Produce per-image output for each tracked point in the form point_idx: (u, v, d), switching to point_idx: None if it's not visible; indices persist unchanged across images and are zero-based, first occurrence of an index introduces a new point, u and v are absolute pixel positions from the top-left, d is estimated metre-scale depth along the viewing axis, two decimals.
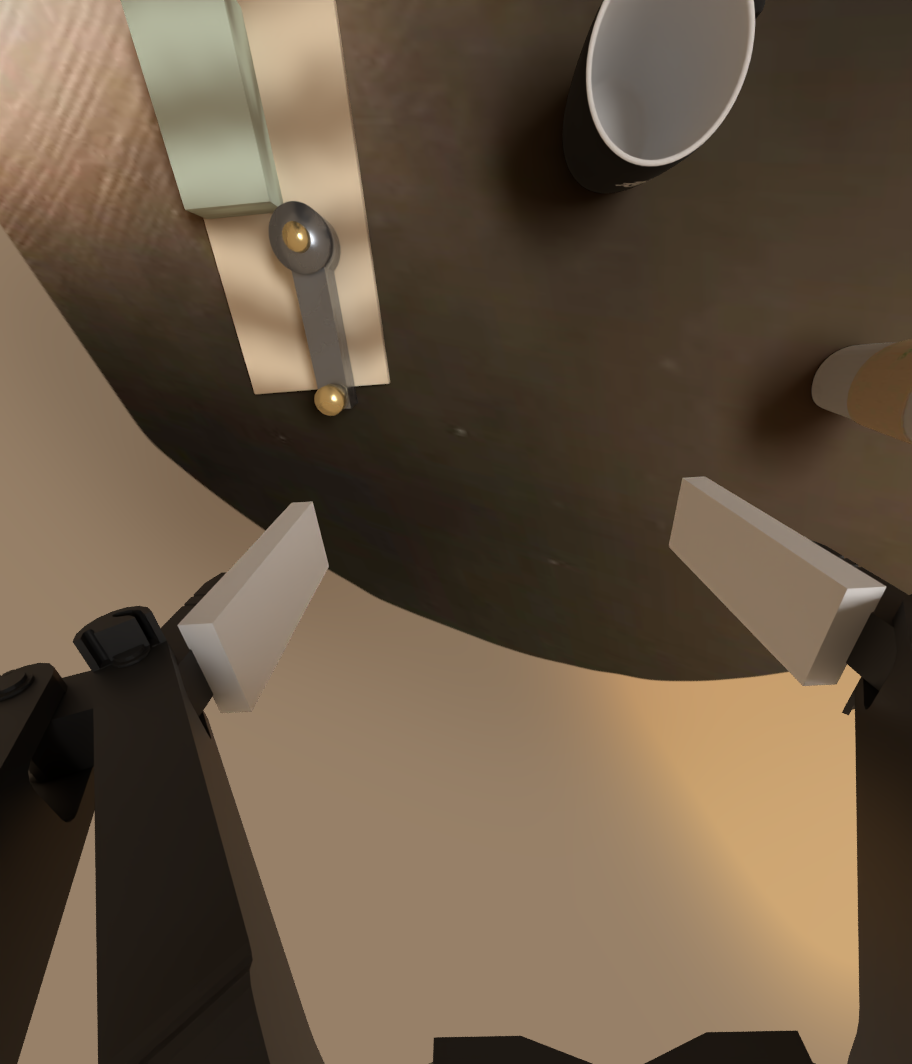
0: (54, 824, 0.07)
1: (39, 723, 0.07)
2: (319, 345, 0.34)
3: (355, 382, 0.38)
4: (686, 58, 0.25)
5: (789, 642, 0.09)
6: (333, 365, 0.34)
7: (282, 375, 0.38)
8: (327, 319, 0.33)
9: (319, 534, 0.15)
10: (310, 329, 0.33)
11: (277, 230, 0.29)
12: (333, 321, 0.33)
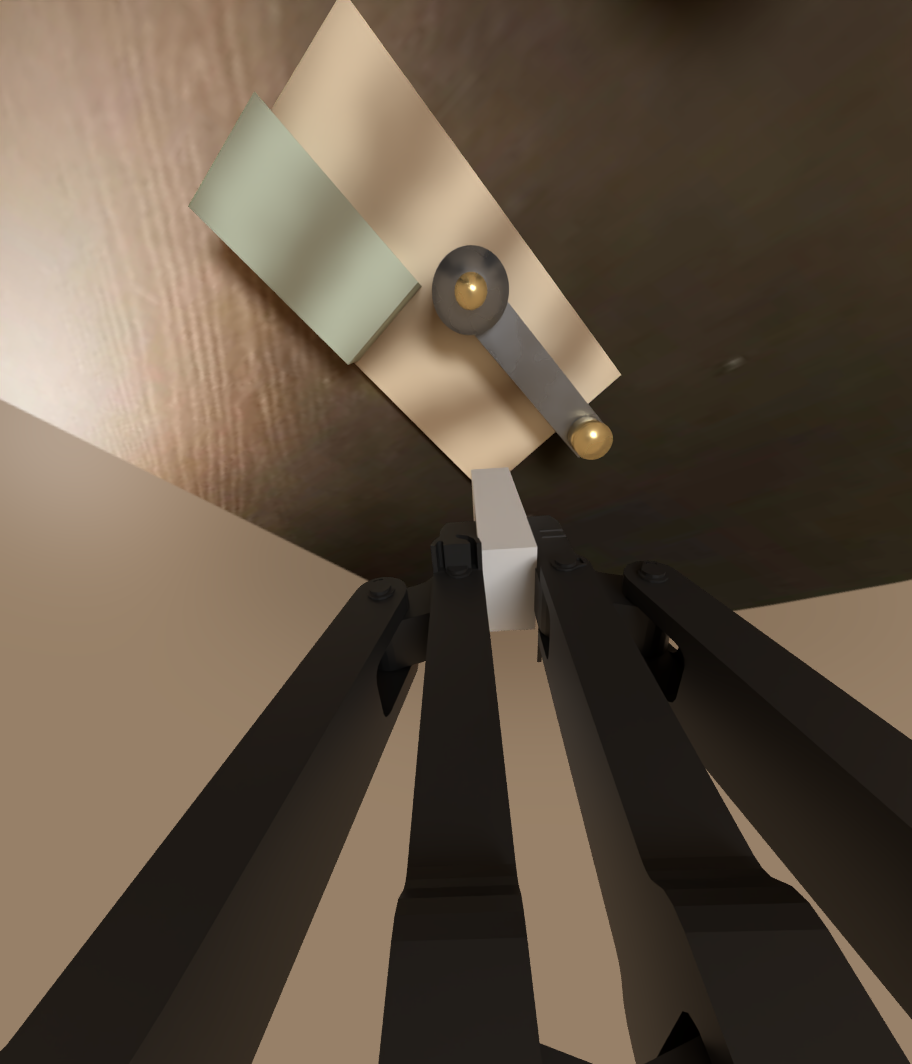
0: (379, 715, 0.08)
1: (390, 631, 0.08)
2: (542, 390, 0.26)
3: None
4: None
5: None
6: (568, 400, 0.26)
7: (501, 454, 0.31)
8: (537, 355, 0.25)
9: None
10: (524, 381, 0.26)
11: (444, 303, 0.23)
12: (545, 352, 0.25)
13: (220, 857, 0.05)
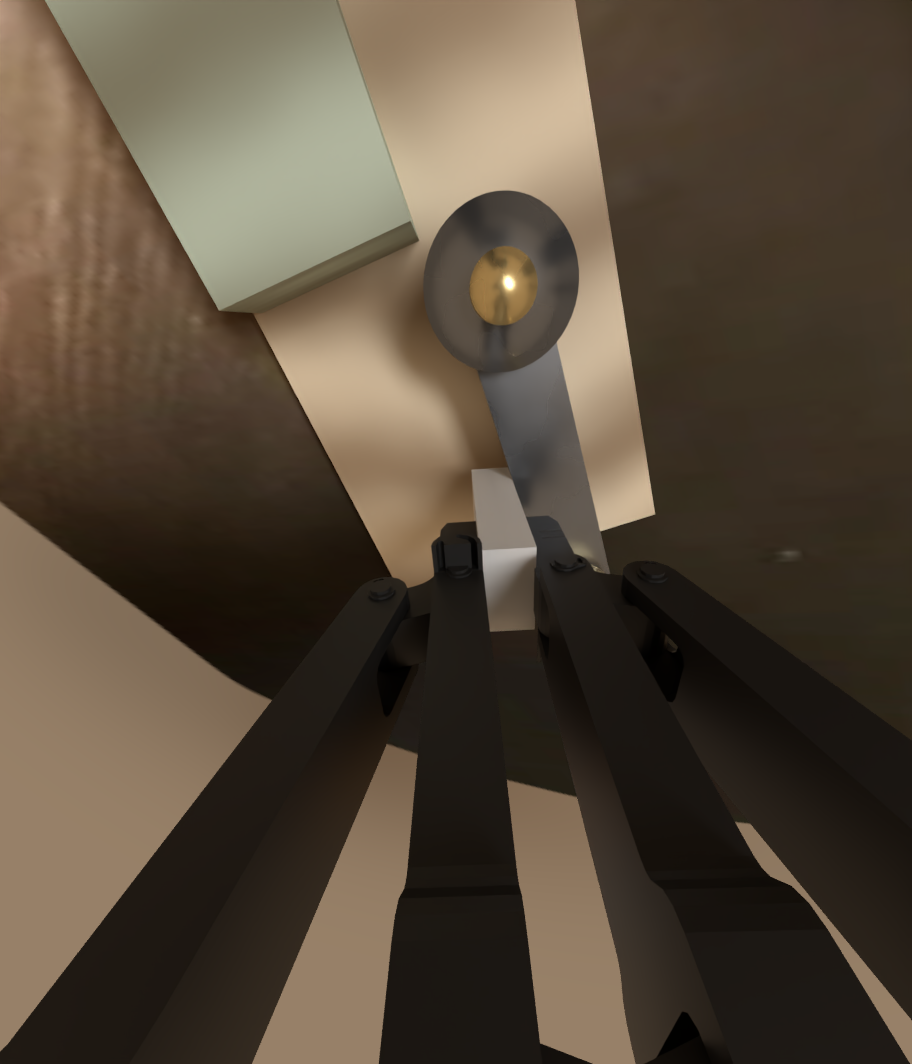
0: (379, 715, 0.08)
1: (390, 631, 0.08)
2: (547, 503, 0.15)
3: None
4: None
5: None
6: (578, 532, 0.16)
7: None
8: (564, 448, 0.14)
9: None
10: (526, 478, 0.15)
11: (445, 287, 0.11)
12: (578, 449, 0.14)
13: (220, 857, 0.05)
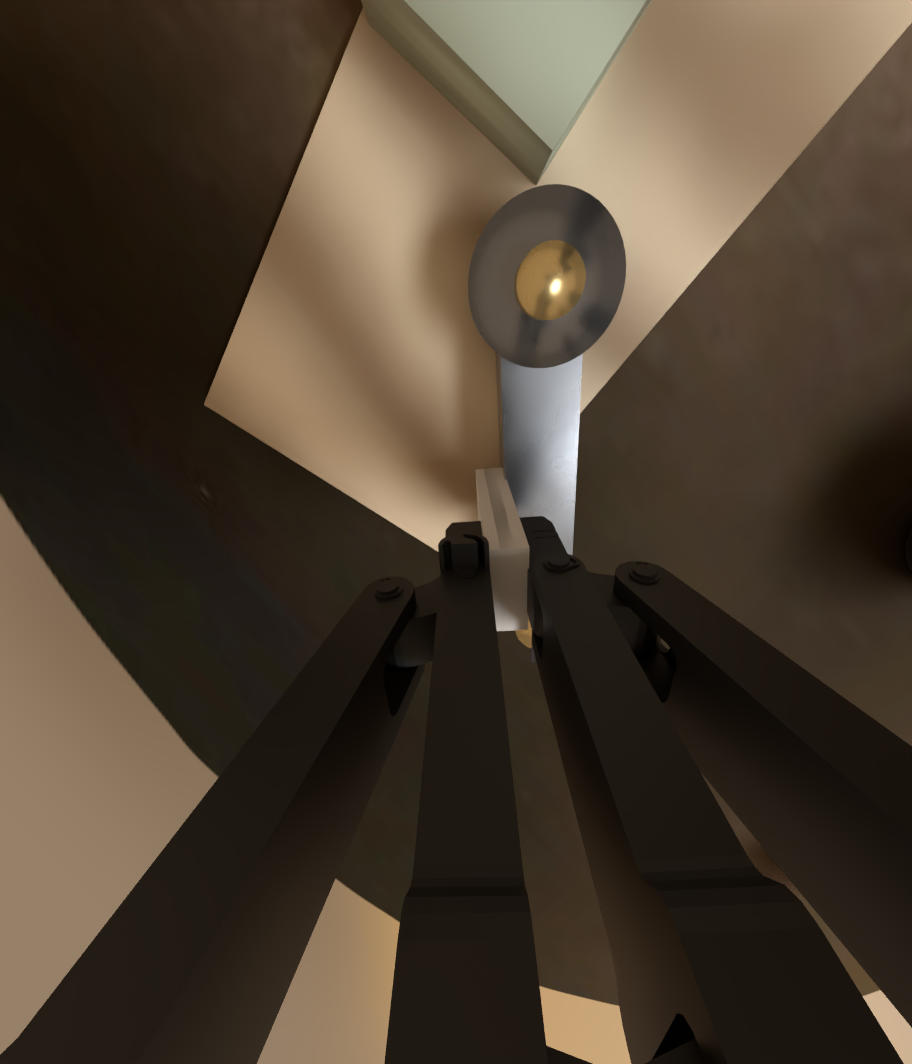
0: (386, 715, 0.08)
1: (397, 631, 0.08)
2: (531, 508, 0.15)
3: (404, 523, 0.19)
4: None
5: None
6: None
7: (285, 420, 0.17)
8: (561, 459, 0.14)
9: None
10: (517, 478, 0.15)
11: (493, 264, 0.11)
12: (574, 463, 0.14)
13: (228, 855, 0.05)
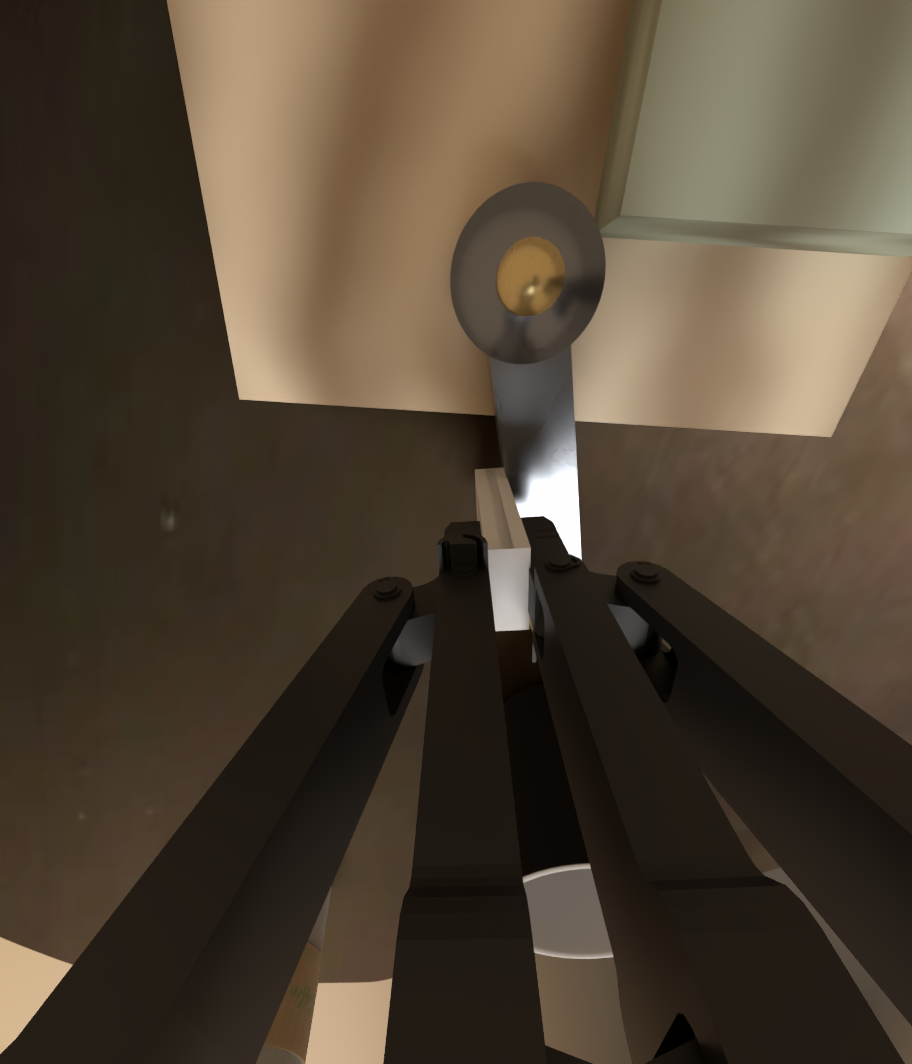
0: (384, 715, 0.08)
1: (396, 631, 0.08)
2: (535, 503, 0.15)
3: (232, 314, 0.15)
4: None
5: None
6: None
7: (226, 68, 0.12)
8: (560, 451, 0.14)
9: None
10: (518, 474, 0.15)
11: (473, 267, 0.11)
12: (574, 454, 0.14)
13: (227, 855, 0.05)
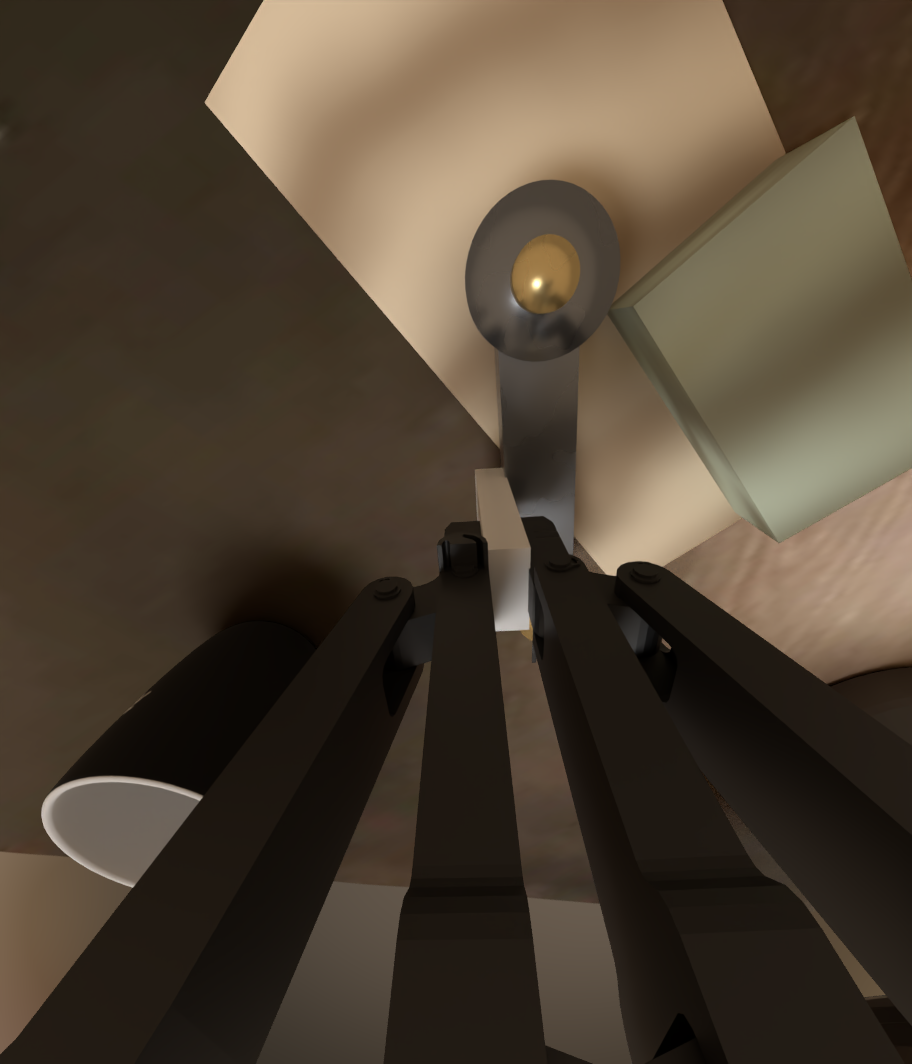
0: (384, 715, 0.08)
1: (396, 630, 0.08)
2: (531, 501, 0.15)
3: (271, 15, 0.12)
4: None
5: None
6: None
7: None
8: (560, 452, 0.14)
9: None
10: (517, 472, 0.15)
11: (489, 260, 0.11)
12: (573, 456, 0.14)
13: (226, 855, 0.05)
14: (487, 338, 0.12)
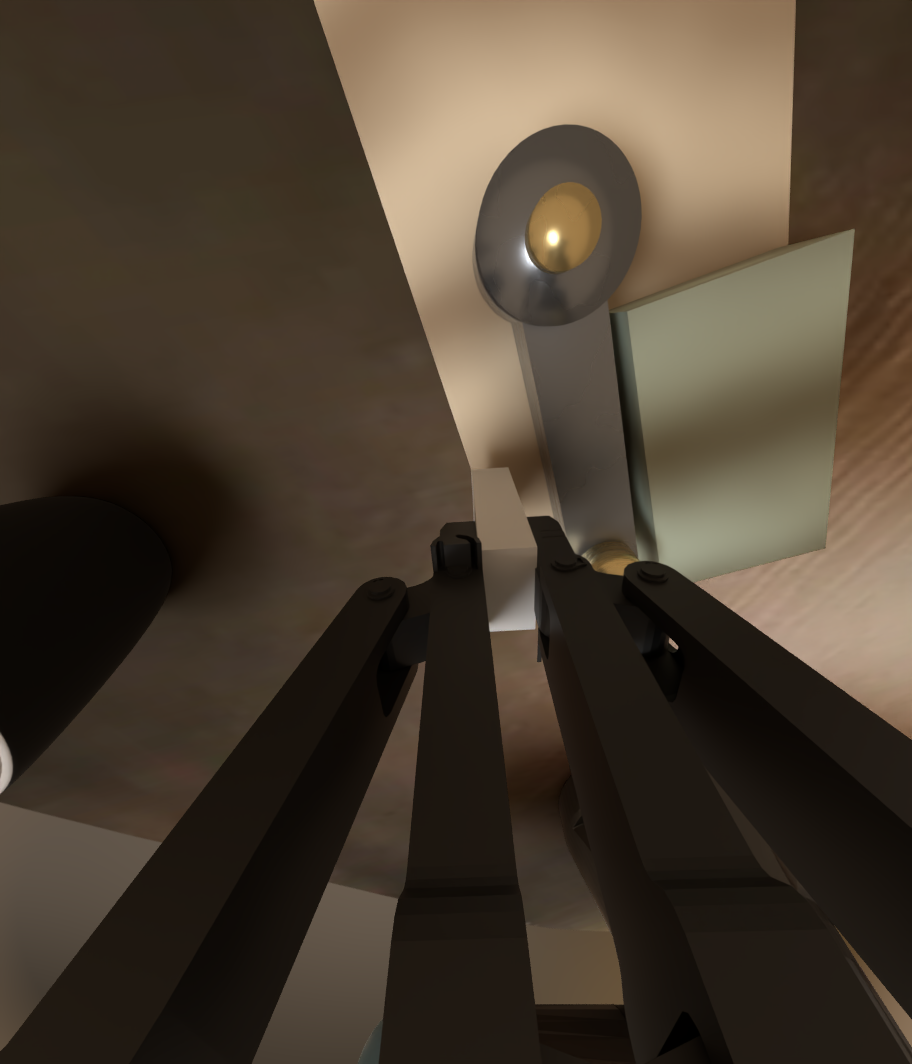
0: (379, 715, 0.08)
1: (390, 631, 0.08)
2: (581, 474, 0.15)
3: None
4: None
5: None
6: (610, 507, 0.15)
7: None
8: (604, 415, 0.14)
9: None
10: (561, 445, 0.14)
11: (500, 228, 0.11)
12: (619, 417, 0.14)
13: (220, 857, 0.05)
14: (510, 311, 0.12)
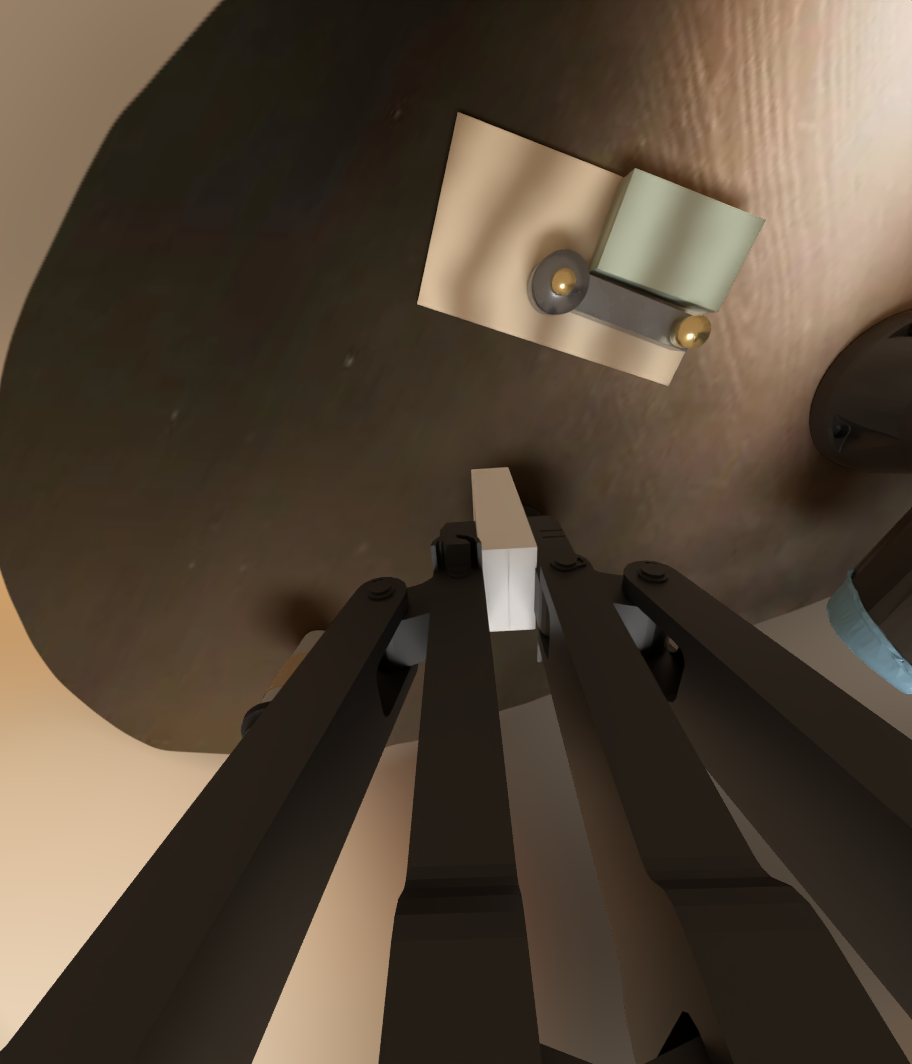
0: (379, 715, 0.08)
1: (390, 631, 0.08)
2: (637, 318, 0.33)
3: (429, 264, 0.34)
4: None
5: None
6: (659, 314, 0.33)
7: (464, 171, 0.31)
8: (623, 296, 0.33)
9: None
10: (620, 320, 0.33)
11: (547, 300, 0.32)
12: (628, 291, 0.32)
13: (220, 857, 0.05)
14: (568, 311, 0.33)
